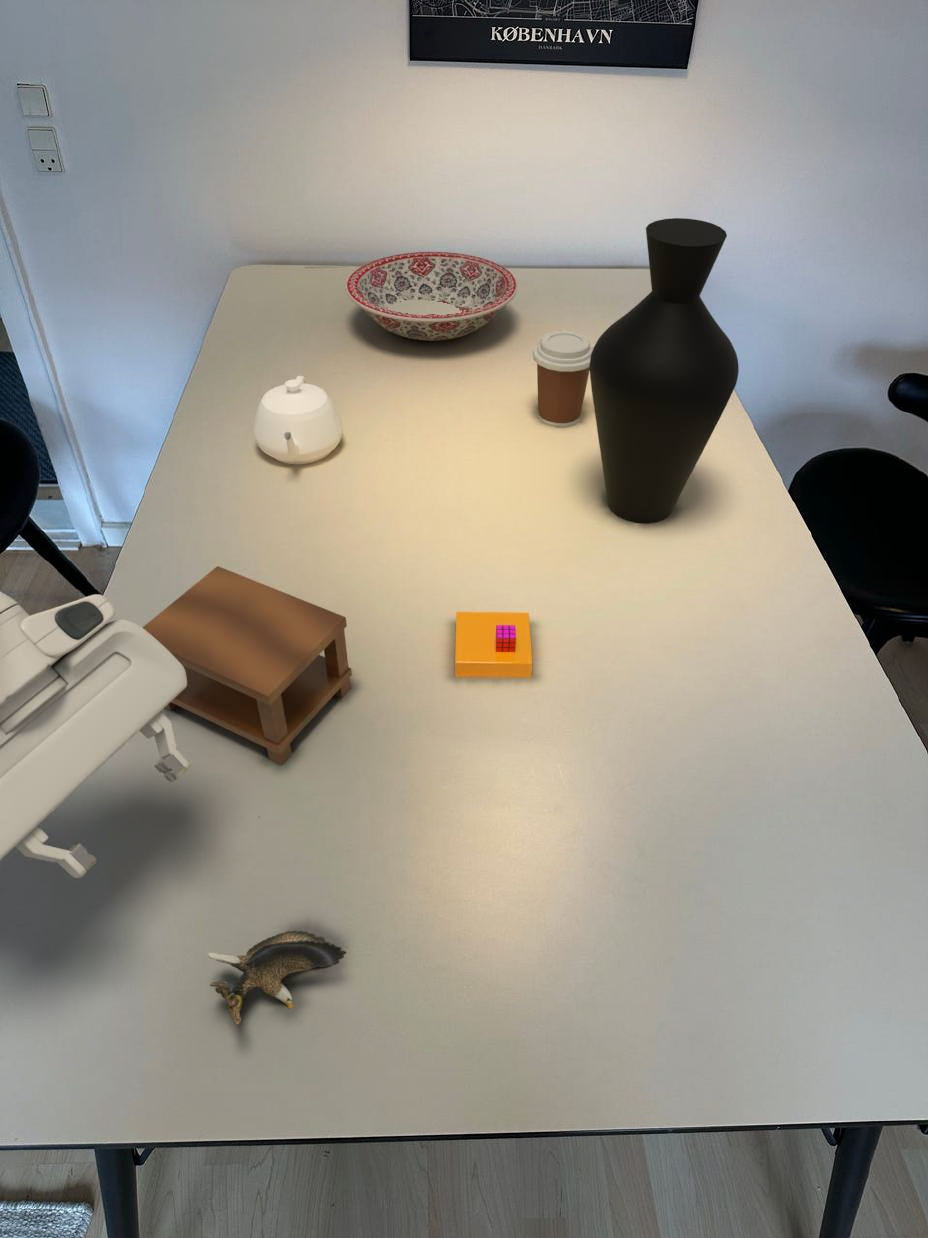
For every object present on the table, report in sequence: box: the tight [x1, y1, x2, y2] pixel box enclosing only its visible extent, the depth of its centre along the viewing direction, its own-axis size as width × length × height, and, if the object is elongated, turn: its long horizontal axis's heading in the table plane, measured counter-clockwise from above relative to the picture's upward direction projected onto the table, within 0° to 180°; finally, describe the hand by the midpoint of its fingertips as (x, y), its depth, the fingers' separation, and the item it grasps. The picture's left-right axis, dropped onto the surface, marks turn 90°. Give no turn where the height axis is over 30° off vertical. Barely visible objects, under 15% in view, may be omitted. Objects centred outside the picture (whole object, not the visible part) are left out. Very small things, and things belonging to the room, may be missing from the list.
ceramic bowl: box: [345, 251, 518, 341], centre depth 156 cm, size 29×29×8 cm
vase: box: [589, 217, 740, 525], centre depth 107 cm, size 17×17×35 cm
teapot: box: [252, 375, 344, 465], centre depth 125 cm, size 20×12×10 cm, turn 3°
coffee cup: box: [532, 330, 594, 428], centre depth 132 cm, size 9×9×12 cm
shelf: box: [141, 565, 353, 766], centre depth 89 cm, size 12×16×10 cm
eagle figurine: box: [207, 930, 347, 1027], centre depth 68 cm, size 8×7×9 cm
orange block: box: [454, 611, 533, 678], centre depth 97 cm, size 8×8×4 cm
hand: (136, 820), depth 65 cm, fingers open, 8 cm apart
